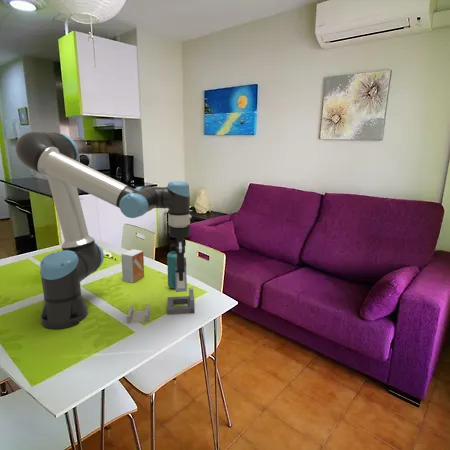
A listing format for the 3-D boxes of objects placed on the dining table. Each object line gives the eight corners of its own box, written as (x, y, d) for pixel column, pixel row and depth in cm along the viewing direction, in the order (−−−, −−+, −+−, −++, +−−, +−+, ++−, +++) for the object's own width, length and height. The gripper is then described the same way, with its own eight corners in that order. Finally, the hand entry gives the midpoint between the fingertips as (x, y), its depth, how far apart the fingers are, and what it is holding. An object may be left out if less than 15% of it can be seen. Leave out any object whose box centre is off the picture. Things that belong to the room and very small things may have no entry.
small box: (133, 283, 144) (132, 256, 141) (122, 280, 146) (120, 253, 143) (144, 276, 151) (143, 250, 148) (133, 274, 154) (132, 248, 150)
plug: (175, 292, 119) (175, 261, 116) (175, 287, 123) (175, 257, 120) (186, 291, 120) (186, 261, 117) (186, 286, 123) (185, 257, 120)
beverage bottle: (180, 292, 136) (179, 247, 131) (165, 290, 138) (164, 246, 133) (184, 286, 143) (184, 243, 138) (170, 284, 144) (169, 241, 139)
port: (167, 316, 118) (166, 299, 116) (167, 302, 127) (167, 287, 126) (194, 314, 119) (194, 298, 118) (192, 301, 129) (192, 286, 127)
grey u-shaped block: (126, 324, 112) (125, 316, 111) (129, 312, 119) (128, 305, 119) (149, 322, 113) (149, 315, 112) (151, 311, 121) (150, 304, 120)
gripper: (191, 231, 107) (192, 294, 113) (189, 219, 124) (190, 275, 129) (168, 231, 106) (170, 296, 112) (169, 219, 123) (171, 276, 128)
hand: (181, 285), depth 121 cm, fingers closed on plug, 4 cm apart
